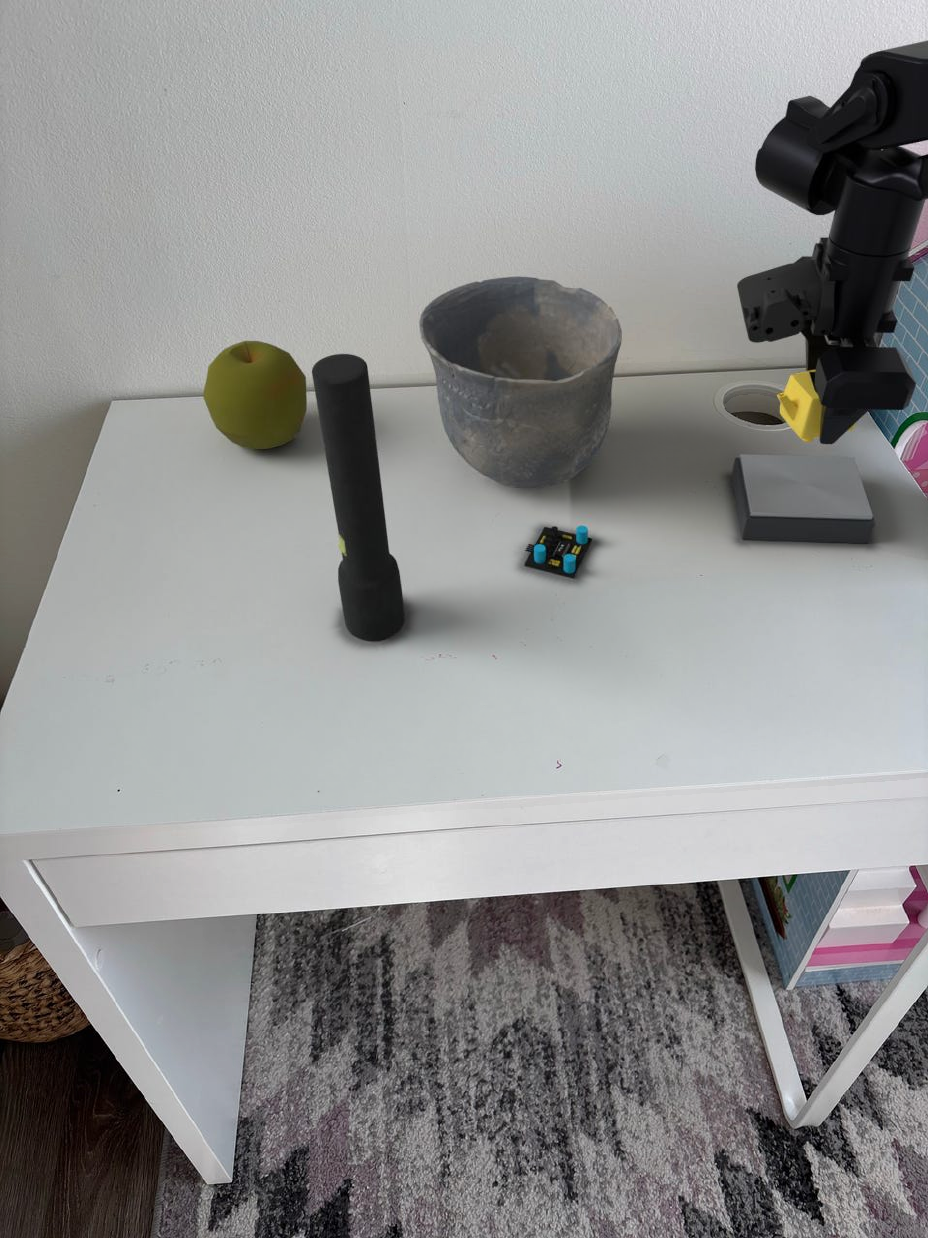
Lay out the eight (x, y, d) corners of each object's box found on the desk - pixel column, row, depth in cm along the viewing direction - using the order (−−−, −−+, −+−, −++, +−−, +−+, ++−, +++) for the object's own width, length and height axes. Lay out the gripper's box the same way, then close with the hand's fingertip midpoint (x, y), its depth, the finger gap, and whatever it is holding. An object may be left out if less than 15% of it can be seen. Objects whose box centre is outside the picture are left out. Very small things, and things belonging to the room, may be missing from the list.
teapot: (787, 459, 79) (801, 405, 75) (756, 420, 83) (768, 367, 79) (876, 444, 80) (894, 390, 76) (841, 405, 84) (857, 353, 80)
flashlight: (389, 590, 83) (335, 611, 81) (358, 338, 66) (289, 359, 64) (414, 627, 80) (360, 649, 78) (389, 373, 62) (318, 395, 61)
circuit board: (540, 513, 87) (593, 526, 85) (539, 527, 88) (591, 540, 87) (519, 549, 84) (574, 564, 82) (519, 564, 85) (573, 578, 83)
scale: (851, 480, 91) (860, 454, 89) (871, 543, 85) (881, 518, 83) (730, 477, 92) (736, 451, 90) (741, 539, 86) (747, 514, 84)
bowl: (415, 515, 90) (403, 375, 79) (439, 407, 102) (431, 273, 91) (608, 524, 88) (622, 382, 77) (608, 413, 100) (621, 277, 89)
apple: (213, 470, 95) (186, 373, 87) (220, 414, 102) (197, 319, 94) (314, 462, 96) (297, 365, 88) (315, 407, 103) (299, 312, 95)
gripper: (741, 185, 77) (710, 359, 88) (774, 301, 64) (734, 487, 75) (885, 185, 76) (835, 361, 87) (948, 303, 63) (881, 491, 74)
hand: (819, 420), depth 81 cm, fingers closed on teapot, 6 cm apart
